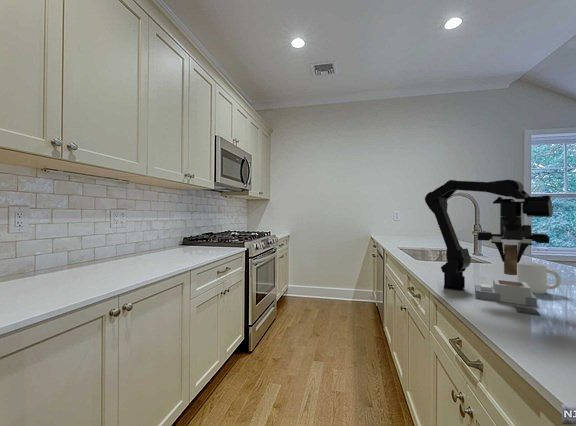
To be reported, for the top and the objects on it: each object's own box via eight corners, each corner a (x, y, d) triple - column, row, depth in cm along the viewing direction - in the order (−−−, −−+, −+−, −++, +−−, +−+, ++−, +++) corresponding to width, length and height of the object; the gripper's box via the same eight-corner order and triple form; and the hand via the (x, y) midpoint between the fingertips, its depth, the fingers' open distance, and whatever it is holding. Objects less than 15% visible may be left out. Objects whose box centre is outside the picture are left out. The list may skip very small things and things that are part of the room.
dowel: (504, 274, 94) (504, 245, 94) (503, 272, 97) (503, 244, 97) (517, 275, 92) (518, 245, 92) (516, 273, 95) (516, 244, 95)
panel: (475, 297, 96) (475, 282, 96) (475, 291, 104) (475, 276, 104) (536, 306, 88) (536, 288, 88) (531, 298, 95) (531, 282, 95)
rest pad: (517, 312, 82) (517, 310, 82) (515, 307, 87) (515, 306, 87) (540, 315, 80) (540, 314, 80) (536, 310, 84) (536, 309, 84)
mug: (560, 292, 102) (560, 264, 102) (561, 297, 96) (561, 268, 96) (518, 286, 110) (518, 261, 110) (517, 291, 104) (517, 264, 104)
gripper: (478, 216, 93) (478, 263, 93) (554, 217, 83) (553, 269, 83) (477, 216, 102) (477, 258, 102) (545, 216, 92) (544, 263, 92)
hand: (510, 262), depth 95 cm, fingers closed on dowel, 3 cm apart
